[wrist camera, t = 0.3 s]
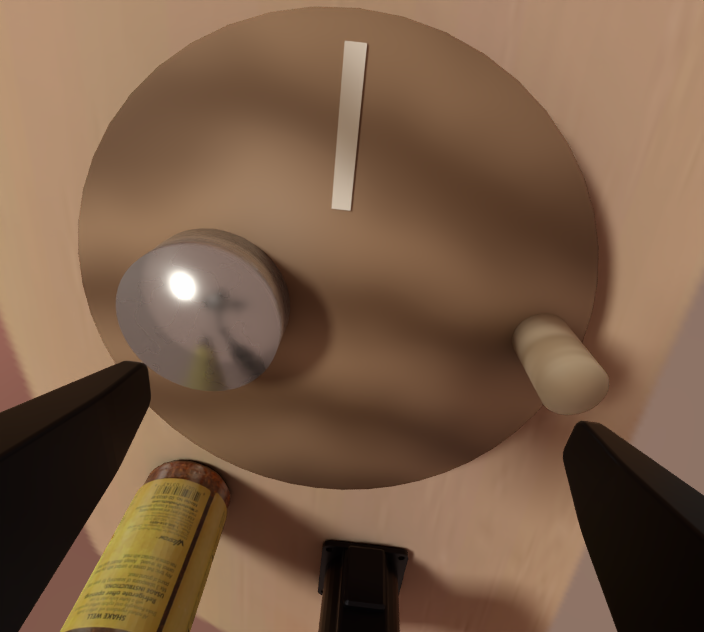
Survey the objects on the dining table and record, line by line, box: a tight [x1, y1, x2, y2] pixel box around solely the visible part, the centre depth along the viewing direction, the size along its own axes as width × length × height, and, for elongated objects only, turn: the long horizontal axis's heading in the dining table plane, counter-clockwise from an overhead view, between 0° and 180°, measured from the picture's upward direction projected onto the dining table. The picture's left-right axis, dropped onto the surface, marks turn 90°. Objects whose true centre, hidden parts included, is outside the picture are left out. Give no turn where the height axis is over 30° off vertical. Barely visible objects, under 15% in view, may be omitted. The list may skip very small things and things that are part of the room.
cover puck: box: [116, 228, 290, 391], centre depth 19 cm, size 7×7×2 cm
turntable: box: [78, 7, 609, 490], centre depth 19 cm, size 24×24×6 cm
